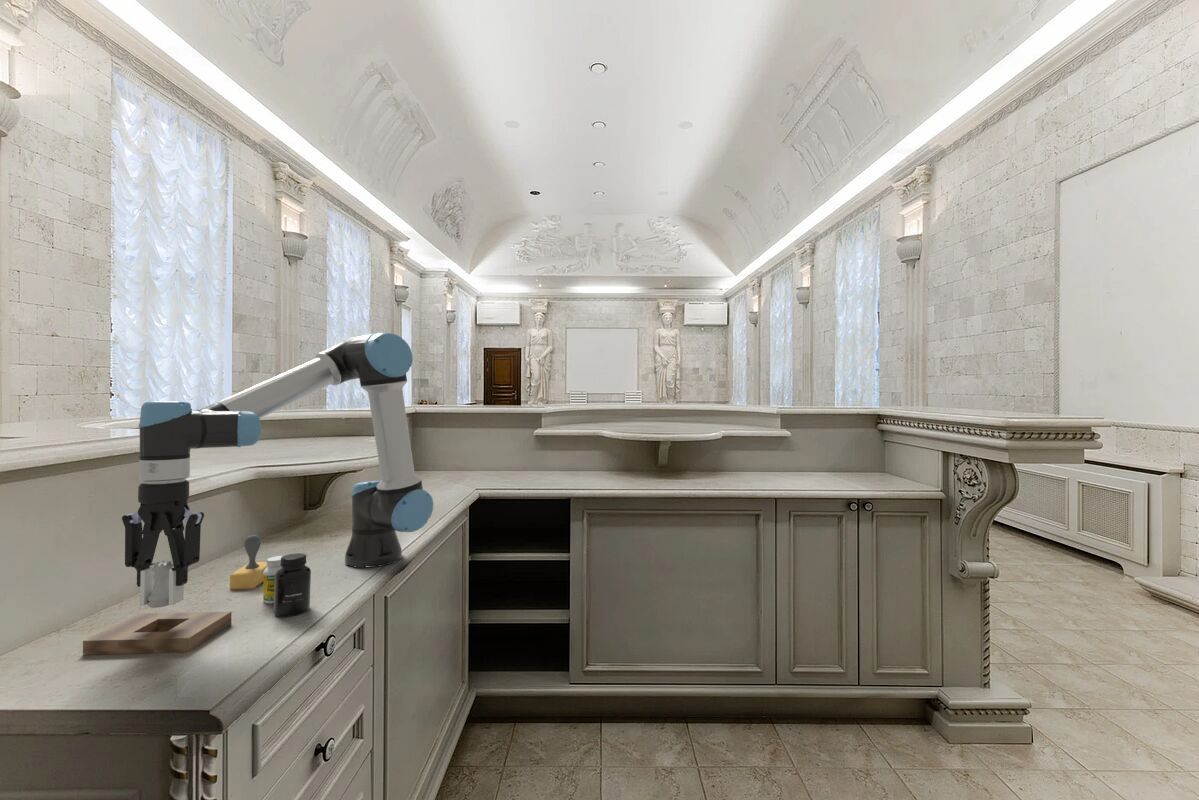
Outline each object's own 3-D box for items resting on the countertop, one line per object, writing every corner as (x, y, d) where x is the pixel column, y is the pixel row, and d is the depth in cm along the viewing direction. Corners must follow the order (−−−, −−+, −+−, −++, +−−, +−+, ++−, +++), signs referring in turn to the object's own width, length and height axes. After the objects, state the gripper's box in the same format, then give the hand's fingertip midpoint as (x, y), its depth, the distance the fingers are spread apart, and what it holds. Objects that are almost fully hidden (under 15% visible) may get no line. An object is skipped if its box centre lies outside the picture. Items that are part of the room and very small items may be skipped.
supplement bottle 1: (290, 593, 122) (290, 553, 122) (291, 601, 117) (291, 559, 117) (262, 598, 119) (263, 557, 119) (262, 606, 114) (263, 563, 114)
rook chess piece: (142, 609, 95) (143, 566, 95) (152, 601, 99) (153, 560, 100) (172, 606, 97) (173, 564, 97) (180, 598, 101) (181, 557, 101)
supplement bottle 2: (289, 619, 107) (290, 562, 107) (266, 614, 109) (266, 558, 110) (317, 607, 114) (318, 553, 114) (295, 603, 116) (295, 550, 116)
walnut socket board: (231, 623, 105) (231, 611, 105) (188, 651, 93) (188, 638, 93) (138, 626, 104) (138, 613, 104) (82, 654, 92) (82, 640, 92)
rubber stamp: (249, 576, 134) (249, 530, 134) (273, 575, 135) (273, 529, 136) (229, 589, 125) (229, 540, 125) (255, 588, 126) (256, 539, 126)
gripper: (98, 483, 94) (95, 611, 94) (198, 483, 95) (195, 609, 95) (132, 478, 102) (130, 596, 101) (224, 478, 103) (222, 594, 103)
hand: (161, 602), depth 98 cm, fingers closed on rook chess piece, 4 cm apart
